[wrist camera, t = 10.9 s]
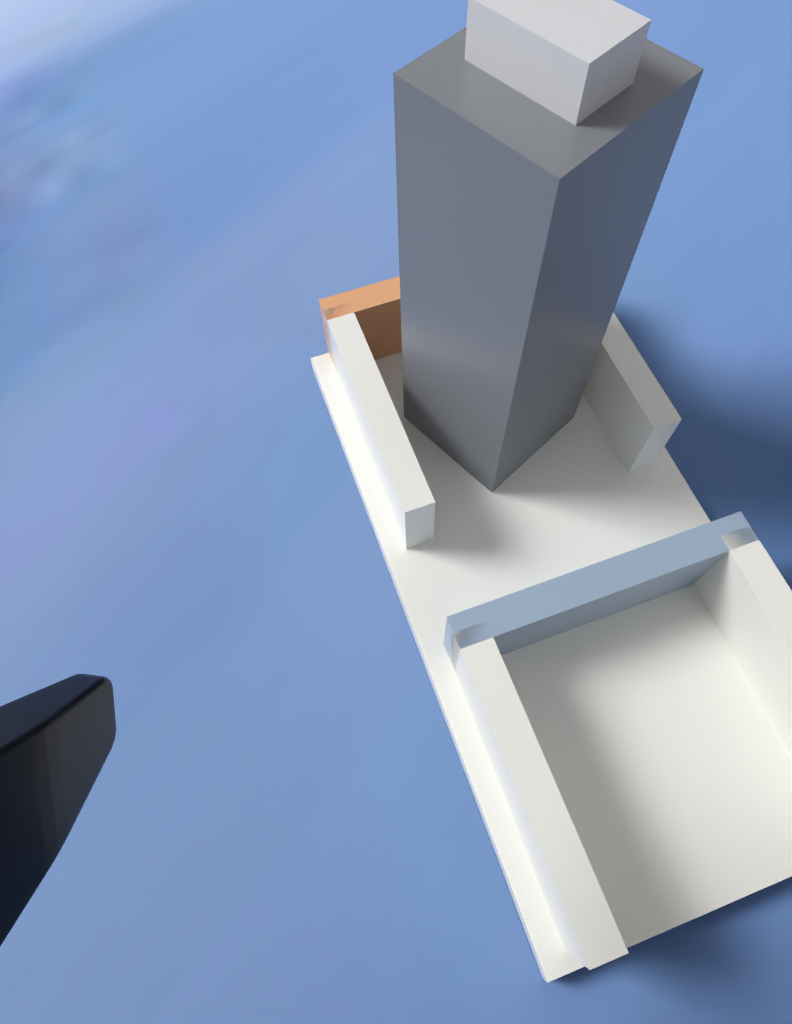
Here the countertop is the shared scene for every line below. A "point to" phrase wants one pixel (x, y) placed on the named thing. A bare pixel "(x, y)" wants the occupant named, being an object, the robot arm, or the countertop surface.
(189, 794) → the countertop surface
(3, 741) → the robot arm
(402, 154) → the grey pedestal with block
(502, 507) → the white tray with rails
